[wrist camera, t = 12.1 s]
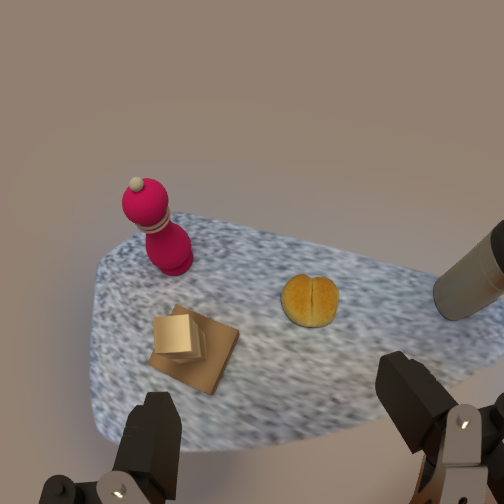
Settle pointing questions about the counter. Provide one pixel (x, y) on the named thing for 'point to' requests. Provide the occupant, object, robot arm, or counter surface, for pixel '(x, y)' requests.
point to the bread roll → (310, 300)
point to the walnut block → (218, 354)
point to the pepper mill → (157, 226)
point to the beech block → (179, 339)
